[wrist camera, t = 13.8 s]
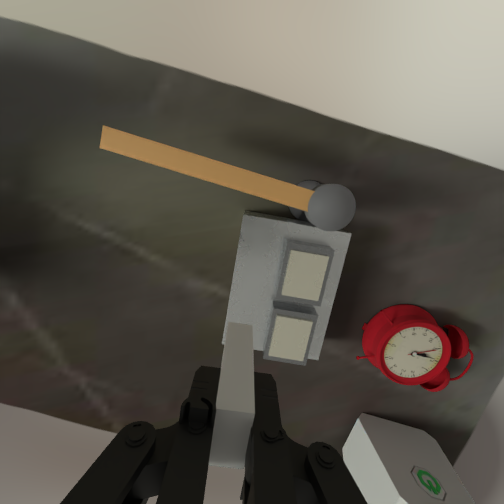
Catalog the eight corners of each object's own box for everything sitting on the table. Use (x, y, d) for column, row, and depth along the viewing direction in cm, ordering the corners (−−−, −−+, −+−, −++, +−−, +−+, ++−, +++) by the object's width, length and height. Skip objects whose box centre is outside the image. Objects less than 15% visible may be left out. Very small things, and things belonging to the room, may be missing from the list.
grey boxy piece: (226, 323, 38) (219, 355, 31) (252, 169, 33) (250, 165, 26) (310, 337, 38) (322, 372, 31) (348, 187, 33) (373, 187, 26)
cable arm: (329, 190, 33) (363, 191, 23) (318, 221, 34) (345, 237, 24) (153, 134, 32) (103, 109, 22) (146, 168, 33) (95, 160, 22)
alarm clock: (386, 301, 33) (516, 355, 31) (375, 287, 39) (484, 331, 37) (350, 370, 36) (468, 425, 33) (345, 347, 42) (445, 392, 39)
